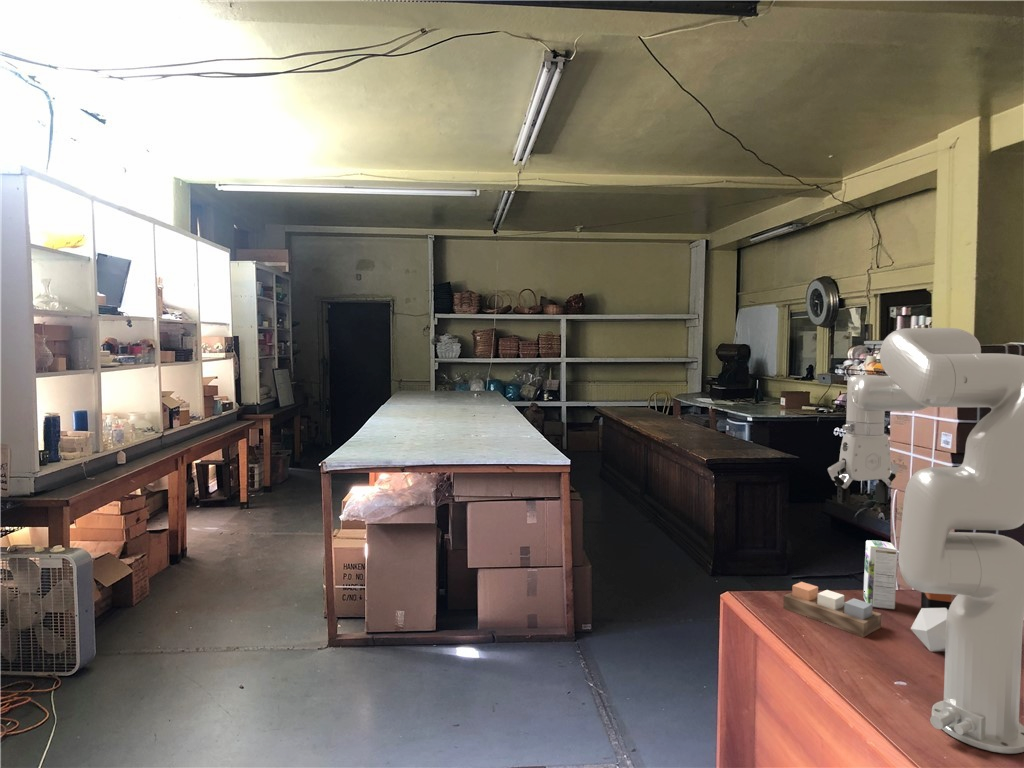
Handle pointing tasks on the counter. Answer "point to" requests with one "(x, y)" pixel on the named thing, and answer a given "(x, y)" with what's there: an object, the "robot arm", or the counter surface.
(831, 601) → the cream button
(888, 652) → the counter surface
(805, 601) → the button board
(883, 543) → the syrup box
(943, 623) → the die
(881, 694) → the counter surface
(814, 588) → the peach square block
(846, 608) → the grey button
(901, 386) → the robot arm
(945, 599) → the battery
